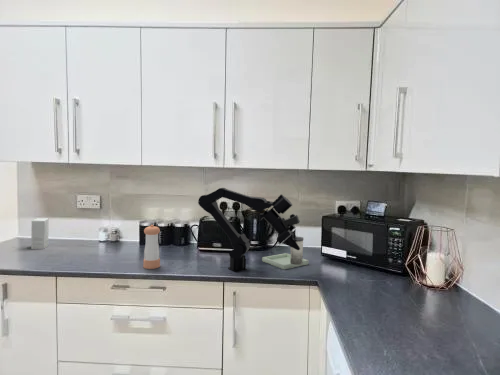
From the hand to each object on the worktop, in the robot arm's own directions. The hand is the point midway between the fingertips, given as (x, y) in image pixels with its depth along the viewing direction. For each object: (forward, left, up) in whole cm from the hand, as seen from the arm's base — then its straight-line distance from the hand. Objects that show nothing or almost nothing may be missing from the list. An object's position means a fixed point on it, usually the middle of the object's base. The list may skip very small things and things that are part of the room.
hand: (300, 248), depth 143 cm
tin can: (-1, +1, -7) cm, 7 cm away
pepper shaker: (-49, +45, -12) cm, 68 cm away
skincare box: (-88, +110, -12) cm, 141 cm away
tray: (+8, +18, -12) cm, 23 cm away
